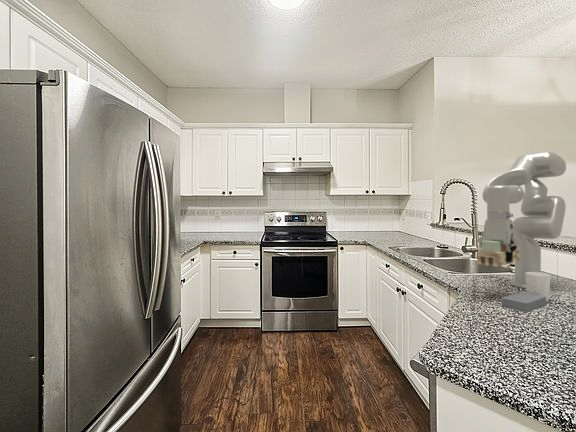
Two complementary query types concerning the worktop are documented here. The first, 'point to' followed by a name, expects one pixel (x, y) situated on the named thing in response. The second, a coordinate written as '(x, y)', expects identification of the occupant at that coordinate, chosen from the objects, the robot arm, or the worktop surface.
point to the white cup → (538, 284)
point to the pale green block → (491, 246)
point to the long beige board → (496, 257)
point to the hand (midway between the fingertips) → (498, 260)
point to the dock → (524, 301)
